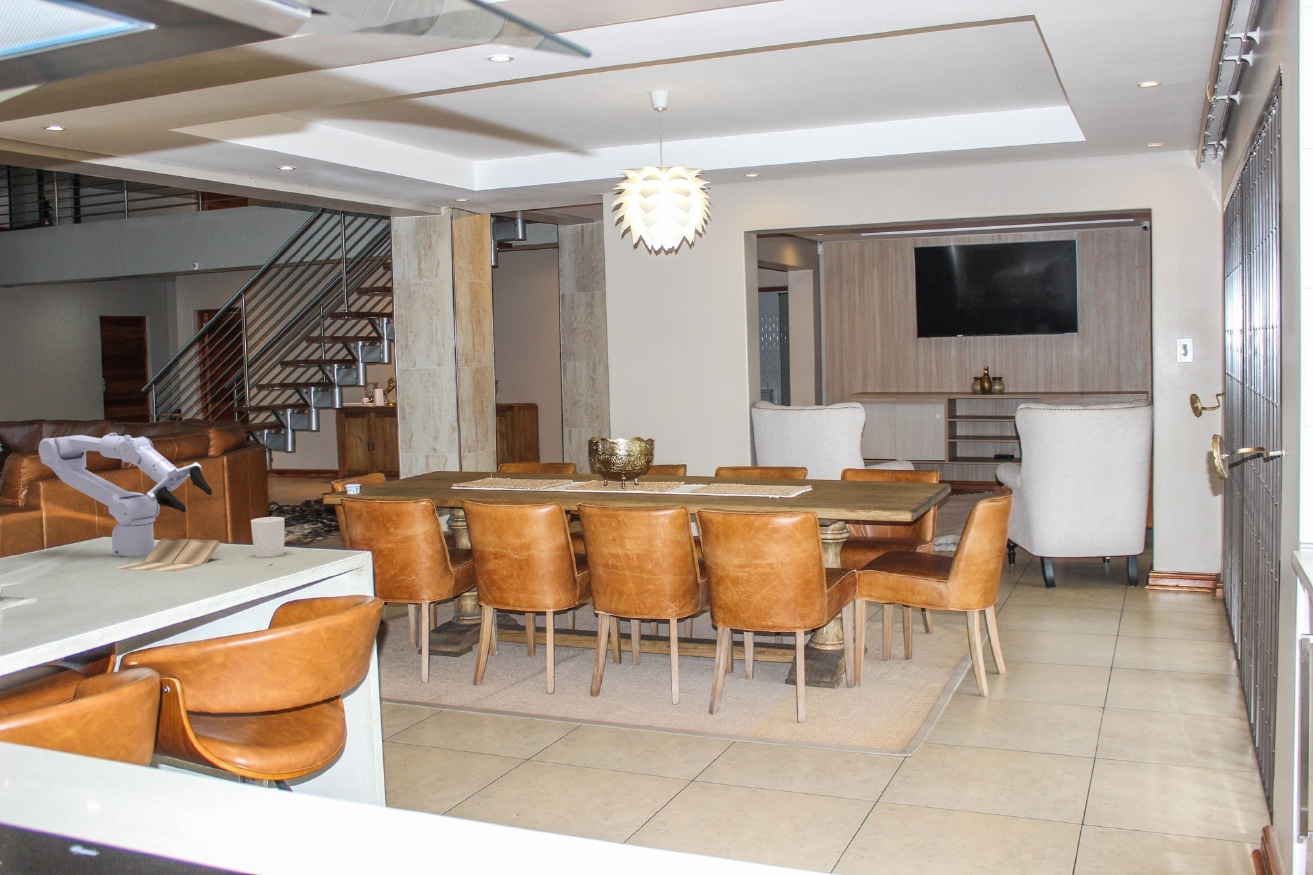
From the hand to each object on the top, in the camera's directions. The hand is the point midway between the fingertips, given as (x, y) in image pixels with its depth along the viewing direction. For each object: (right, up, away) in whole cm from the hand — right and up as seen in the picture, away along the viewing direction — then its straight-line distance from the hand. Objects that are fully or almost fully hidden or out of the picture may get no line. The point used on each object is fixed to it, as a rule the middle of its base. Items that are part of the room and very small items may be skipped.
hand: (197, 500), depth 278 cm
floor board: (-6, -16, -9) cm, 19 cm away
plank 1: (-7, -13, 0) cm, 15 cm away
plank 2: (+1, -13, -2) cm, 13 cm away
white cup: (+16, -15, +5) cm, 22 cm away
